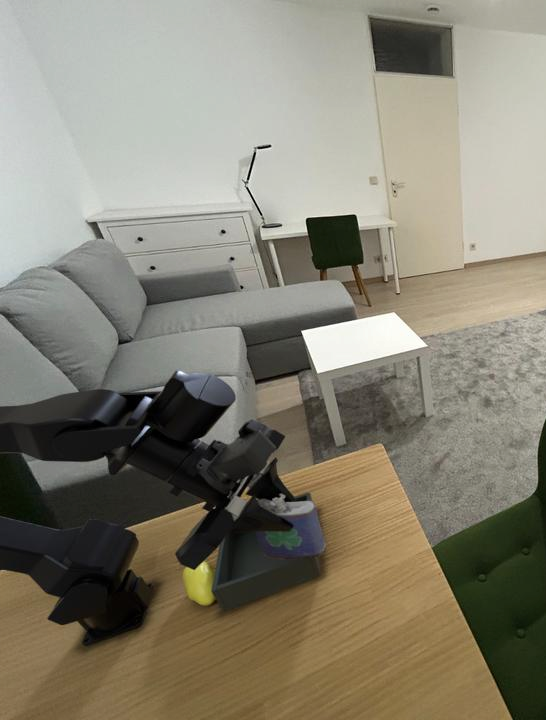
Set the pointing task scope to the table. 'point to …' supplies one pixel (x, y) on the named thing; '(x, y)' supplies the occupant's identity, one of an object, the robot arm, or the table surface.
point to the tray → (256, 569)
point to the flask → (292, 530)
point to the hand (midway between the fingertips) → (295, 518)
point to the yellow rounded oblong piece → (200, 583)
